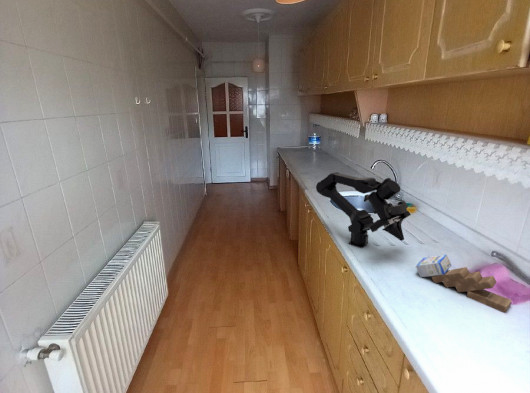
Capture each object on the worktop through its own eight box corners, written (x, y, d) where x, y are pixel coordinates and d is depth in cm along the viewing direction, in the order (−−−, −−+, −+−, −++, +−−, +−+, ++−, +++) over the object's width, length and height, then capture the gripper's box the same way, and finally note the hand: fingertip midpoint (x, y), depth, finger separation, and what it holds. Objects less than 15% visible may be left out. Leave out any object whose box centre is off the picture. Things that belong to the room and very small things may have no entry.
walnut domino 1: (431, 277, 103) (460, 272, 95) (437, 271, 106) (466, 266, 98) (434, 283, 102) (463, 278, 94) (440, 277, 105) (469, 272, 97)
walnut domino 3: (455, 286, 97) (488, 281, 89) (460, 280, 100) (493, 275, 93) (458, 292, 97) (492, 288, 89) (463, 286, 100) (496, 282, 92)
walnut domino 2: (442, 281, 100) (473, 277, 92) (448, 276, 103) (479, 271, 95) (445, 287, 100) (477, 283, 92) (451, 281, 103) (482, 277, 95)
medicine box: (422, 257, 111) (446, 253, 105) (427, 268, 111) (452, 265, 105) (415, 265, 106) (439, 262, 100) (420, 277, 106) (445, 274, 99)
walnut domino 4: (467, 291, 94) (506, 306, 86) (473, 285, 97) (511, 299, 89) (466, 297, 95) (505, 312, 87) (472, 290, 98) (510, 305, 90)
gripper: (379, 200, 107) (403, 238, 102) (408, 190, 117) (433, 225, 111) (360, 214, 116) (382, 250, 110) (389, 204, 126) (410, 236, 120)
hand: (402, 240), depth 113 cm, fingers closed
